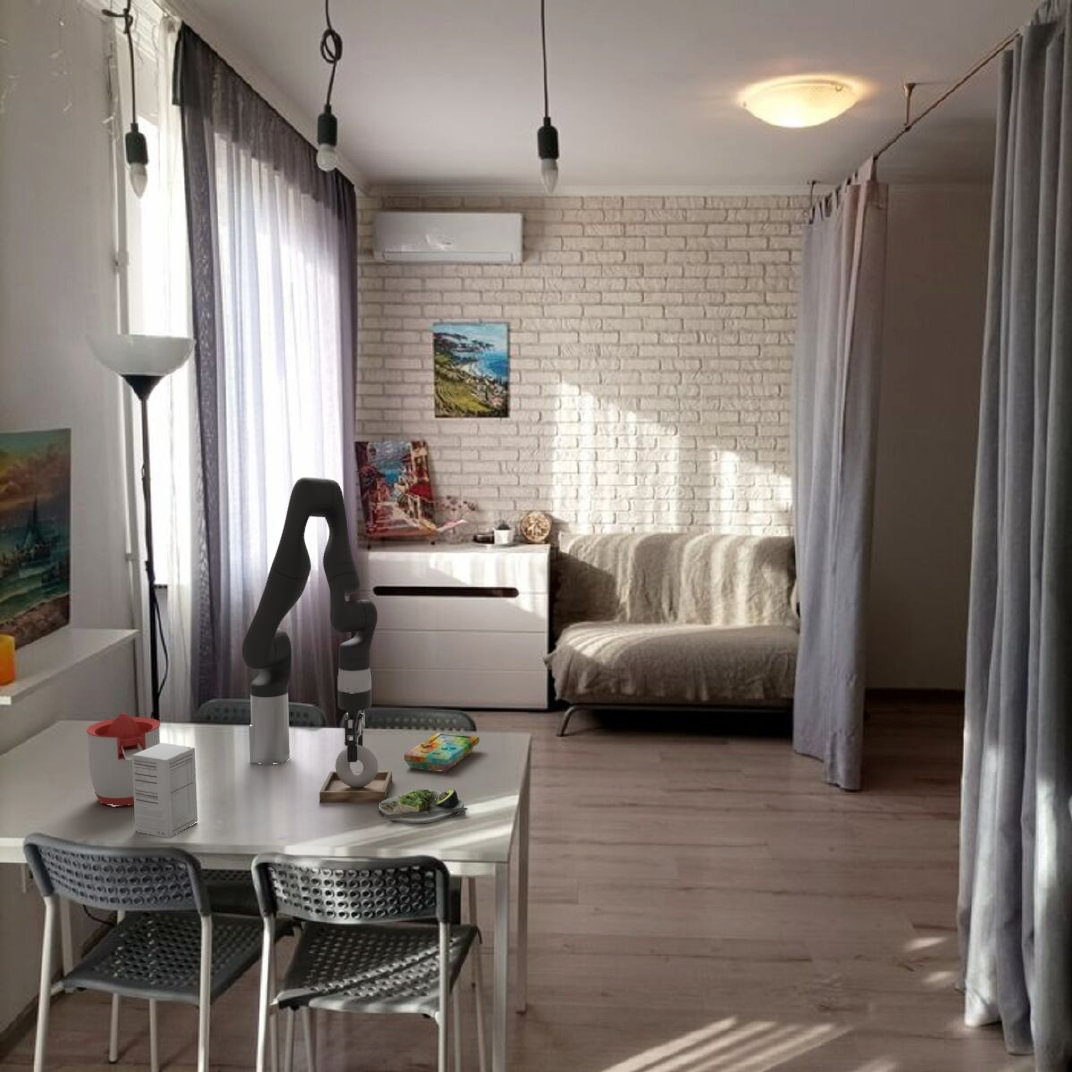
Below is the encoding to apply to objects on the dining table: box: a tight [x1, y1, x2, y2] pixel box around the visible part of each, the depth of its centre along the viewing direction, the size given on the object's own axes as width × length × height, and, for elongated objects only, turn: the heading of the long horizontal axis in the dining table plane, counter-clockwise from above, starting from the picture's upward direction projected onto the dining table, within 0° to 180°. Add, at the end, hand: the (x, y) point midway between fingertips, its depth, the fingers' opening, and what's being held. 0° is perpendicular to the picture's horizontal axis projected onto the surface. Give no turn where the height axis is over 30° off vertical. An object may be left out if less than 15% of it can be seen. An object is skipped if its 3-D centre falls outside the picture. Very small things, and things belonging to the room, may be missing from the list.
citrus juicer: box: [86, 712, 161, 806], centre depth 257 cm, size 16×17×20 cm
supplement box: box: [132, 742, 199, 839], centre depth 241 cm, size 10×9×17 cm
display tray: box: [319, 770, 393, 804], centre depth 264 cm, size 15×15×2 cm
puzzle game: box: [403, 732, 480, 772], centre depth 288 cm, size 12×5×20 cm
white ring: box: [335, 745, 379, 788], centre depth 263 cm, size 10×4×10 cm, turn 84°
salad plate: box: [378, 788, 469, 824], centre depth 251 cm, size 19×18×5 cm
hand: (355, 755), depth 263 cm, fingers open, 8 cm apart
